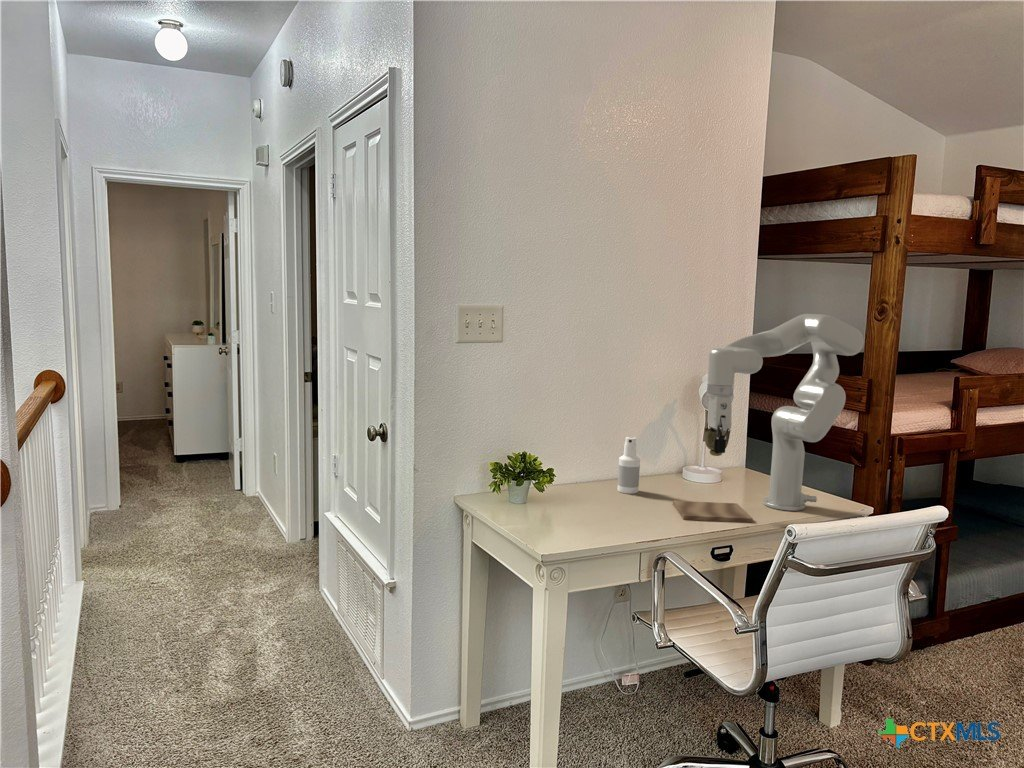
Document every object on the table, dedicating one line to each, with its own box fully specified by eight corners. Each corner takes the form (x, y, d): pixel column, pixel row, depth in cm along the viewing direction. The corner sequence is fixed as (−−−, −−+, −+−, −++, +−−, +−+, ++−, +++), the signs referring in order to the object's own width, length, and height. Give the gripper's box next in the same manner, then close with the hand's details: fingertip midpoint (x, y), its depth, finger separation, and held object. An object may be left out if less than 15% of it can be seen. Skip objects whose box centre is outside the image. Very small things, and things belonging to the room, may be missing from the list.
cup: (699, 452, 230) (701, 426, 229) (723, 452, 231) (725, 426, 230) (707, 457, 223) (709, 430, 222) (732, 458, 223) (734, 431, 222)
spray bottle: (616, 492, 248) (619, 438, 246) (618, 487, 255) (621, 435, 253) (637, 495, 246) (640, 440, 244) (638, 489, 253) (642, 436, 251)
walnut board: (736, 507, 236) (737, 503, 236) (752, 522, 221) (752, 518, 220) (672, 504, 237) (672, 500, 236) (683, 519, 221) (683, 515, 221)
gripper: (741, 394, 216) (736, 456, 218) (725, 387, 233) (721, 444, 235) (714, 394, 216) (710, 455, 218) (700, 386, 233) (696, 443, 235)
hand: (716, 449), depth 226 cm, fingers closed on cup, 6 cm apart
